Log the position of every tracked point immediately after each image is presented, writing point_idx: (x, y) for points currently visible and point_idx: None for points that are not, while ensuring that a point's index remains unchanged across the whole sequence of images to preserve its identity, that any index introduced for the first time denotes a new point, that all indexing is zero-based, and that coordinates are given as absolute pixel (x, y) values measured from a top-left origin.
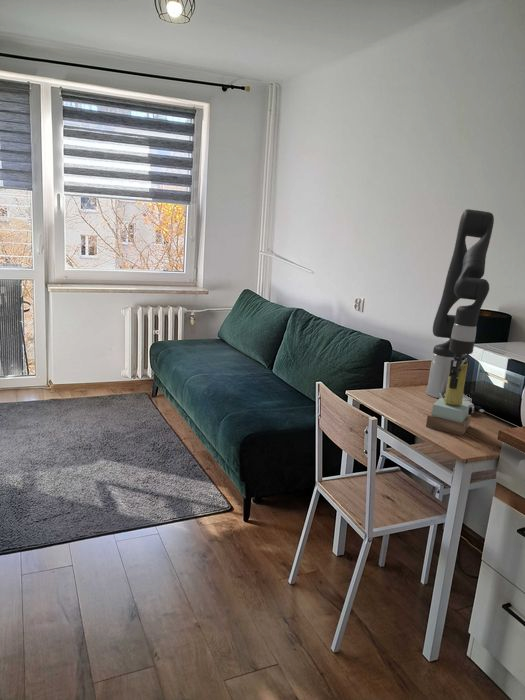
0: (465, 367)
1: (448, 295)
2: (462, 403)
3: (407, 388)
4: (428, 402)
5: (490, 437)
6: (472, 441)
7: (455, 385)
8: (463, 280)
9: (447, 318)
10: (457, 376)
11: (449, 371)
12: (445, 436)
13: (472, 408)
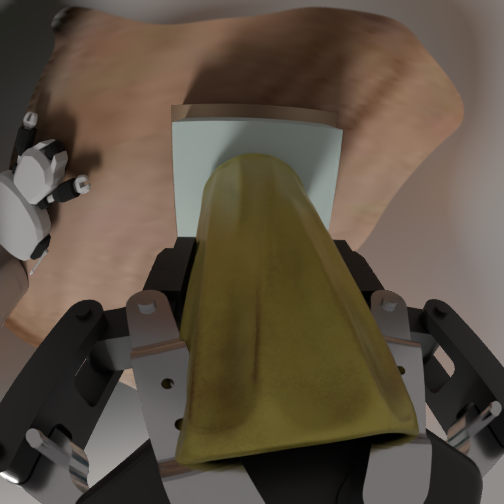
0: (373, 367)
1: None
2: (190, 157)
3: (37, 331)
4: (68, 277)
5: (260, 20)
6: (352, 75)
7: (352, 258)
8: None
9: None
10: (448, 307)
11: None
12: (362, 162)
13: (45, 145)
